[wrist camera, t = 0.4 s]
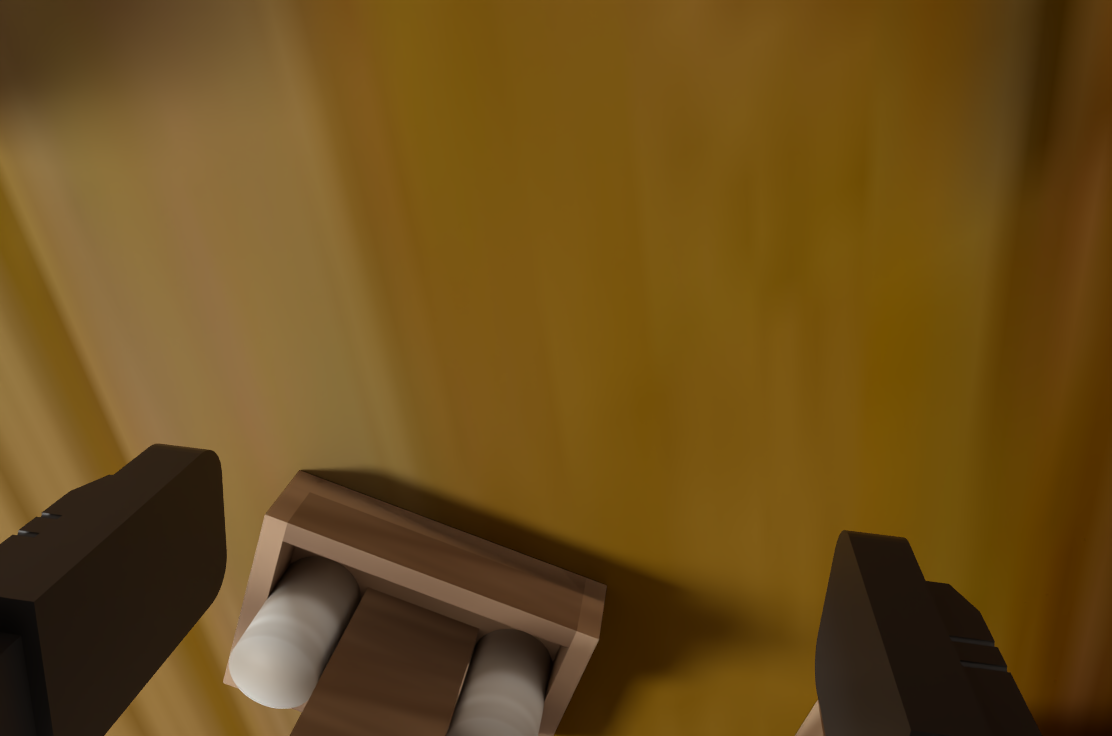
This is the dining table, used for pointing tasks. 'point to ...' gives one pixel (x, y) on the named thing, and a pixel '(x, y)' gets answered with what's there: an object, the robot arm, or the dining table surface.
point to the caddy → (405, 623)
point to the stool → (812, 723)
